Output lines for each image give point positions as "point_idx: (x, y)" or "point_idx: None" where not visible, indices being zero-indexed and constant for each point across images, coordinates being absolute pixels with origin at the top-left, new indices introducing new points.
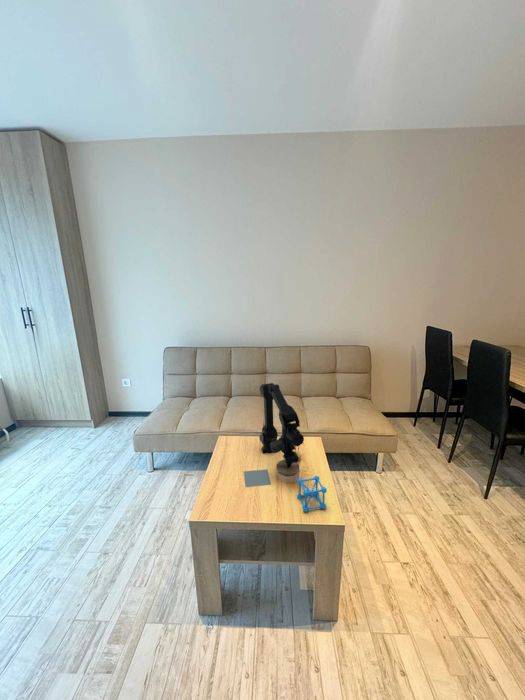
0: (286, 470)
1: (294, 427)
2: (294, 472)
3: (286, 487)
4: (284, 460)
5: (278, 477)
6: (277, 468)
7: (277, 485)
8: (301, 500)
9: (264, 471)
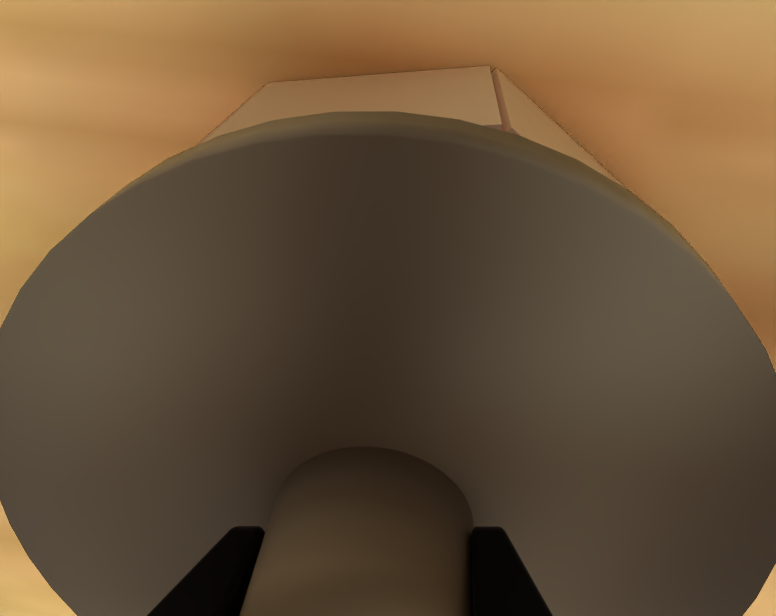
0: (119, 449)
1: None
2: (77, 604)
3: (51, 233)
4: (743, 484)
5: (261, 101)
6: (219, 160)
7: (87, 32)
8: None
9: None
